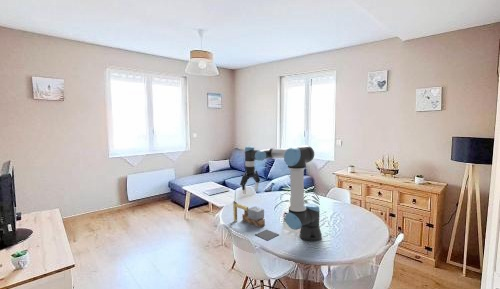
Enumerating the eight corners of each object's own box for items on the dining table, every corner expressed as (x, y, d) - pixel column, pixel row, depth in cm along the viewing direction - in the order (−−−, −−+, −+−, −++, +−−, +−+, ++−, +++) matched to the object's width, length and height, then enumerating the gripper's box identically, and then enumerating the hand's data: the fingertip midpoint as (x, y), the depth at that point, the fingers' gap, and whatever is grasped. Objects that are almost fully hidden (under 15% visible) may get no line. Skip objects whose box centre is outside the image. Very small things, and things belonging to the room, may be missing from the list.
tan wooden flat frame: (249, 225, 205) (248, 205, 203) (246, 226, 203) (246, 206, 201) (235, 220, 216) (235, 200, 214) (233, 220, 214) (232, 201, 212)
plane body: (264, 225, 205) (264, 214, 204) (260, 227, 202) (260, 216, 201) (247, 218, 220) (246, 207, 219) (242, 220, 216) (242, 209, 215)
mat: (278, 234, 189) (278, 234, 189) (267, 240, 181) (267, 240, 181) (266, 229, 198) (266, 229, 198) (255, 235, 190) (255, 234, 190)
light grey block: (264, 218, 207) (264, 209, 206) (256, 221, 202) (256, 212, 201) (255, 214, 214) (254, 206, 213) (247, 217, 209) (247, 208, 208)
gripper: (257, 163, 223) (258, 187, 225) (235, 167, 206) (235, 194, 208) (264, 164, 218) (264, 189, 220) (241, 169, 200) (242, 196, 203)
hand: (250, 191), depth 214 cm, fingers open, 13 cm apart
